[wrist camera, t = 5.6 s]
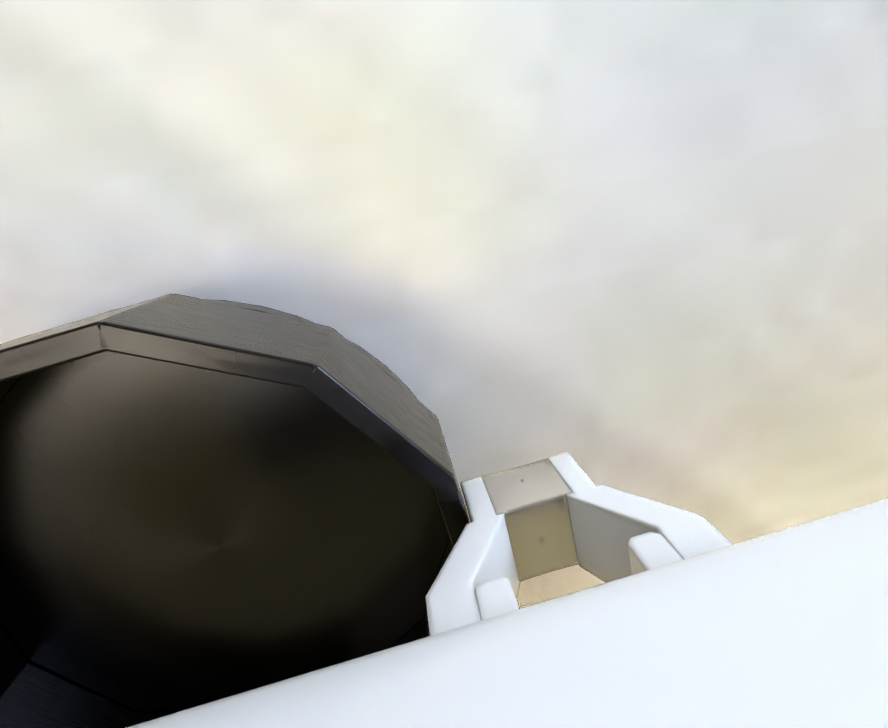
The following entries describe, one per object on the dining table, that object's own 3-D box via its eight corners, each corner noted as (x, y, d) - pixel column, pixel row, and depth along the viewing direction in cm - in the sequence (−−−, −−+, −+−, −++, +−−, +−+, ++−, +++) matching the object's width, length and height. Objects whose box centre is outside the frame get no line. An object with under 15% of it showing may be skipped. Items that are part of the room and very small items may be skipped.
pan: (-172, 392, 11) (-430, 475, 7) (380, 231, 11) (381, 237, 8) (222, 902, 18) (184, 1067, 14) (551, 787, 18) (591, 920, 15)
